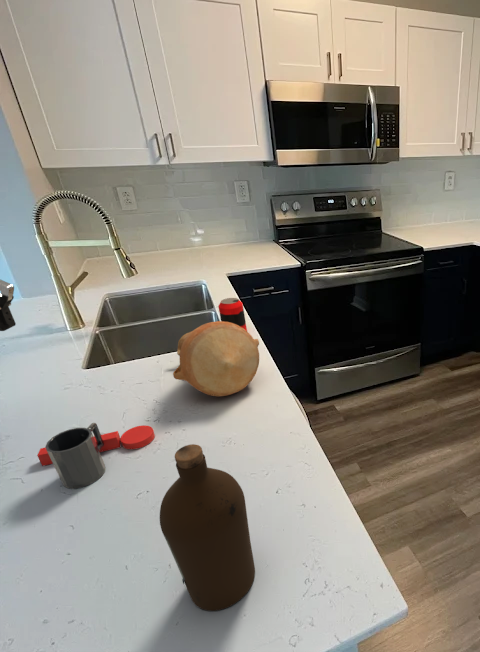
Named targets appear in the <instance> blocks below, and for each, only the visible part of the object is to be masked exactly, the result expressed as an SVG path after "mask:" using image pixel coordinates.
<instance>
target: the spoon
mask: <svg viewBox="0 0 480 652" xmlns="http://www.w3.org/2000/svg"><path fill="white" fill-rule="evenodd" d="M93 437H94V439H95V436H94V435H93ZM101 437H102V439H103V442H104V446H103V447H102V448H101V449H100V450H99V452H100V453H103V452H106V451H110V450H115V449H119V448H121V446H122V447H123V448H124V449H126V450H137V449H141V448H143V447H146V446H147V445H150V444H151V443H152V442H153V441H154V439H155V438H156V435H155V431H154V428H153V427H152V426H150V425H147V424H146V425H143V424H142V425H137V426H135V427H131V428H129V429H127V430H126V431H124V432H123V433H122V434H121V436H120V434H119V431H118V430H116V431H112V432H107V433H103V434H101ZM95 442H96V444H97V441H96V439H95ZM36 456H37V458H38V461H39V462H40V464H41V466H42V467H44V466H48V465H53V462H52V460H51V458H50V456H49V454H48V452H47V450H46V447H45V446H44V447H41V448H40V449H39V451H38V452H37V455H36Z"/></svg>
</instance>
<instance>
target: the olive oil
mask: <svg viewBox="0 0 480 652" xmlns="http://www.w3.org/2000/svg"><path fill="white" fill-rule="evenodd" d="M174 460H175V467H176V470H177V473H178V476H179V477H178V478H177V479H176V480H175V481H174V482H173V483H172V485H171V486H170V487H168V490H167V491H166V492H165V493H164V495H163V498H162V501H161V502H160V503H161V504H160V509H159V525H160V530H161V532H162V535H163V537H164V539H165V541H166V544H167V546H168V548H169V550H170V552H171V555H172V557H173V559H174V561H175V564H176V566H177V569H178V571H179V572H180V573H179V574H180V575H181V580H182V581H181V582H182V584H183V585H184V586H183V587H184V588H186V590H187V592H188V594H189V597H190V599H191V601H192V603H193V604H194V605H195V606H196V607H197V608H199V609H201V610H204V611H208V612H216V611H221V610H225V609H228V608H230V607H232V606H234V605H235V604H237V603H238V602H239V601H241V600H242V599H243V598H244V597H245V596H246V595H247V594H248V592H249V591H250V589H251V588H252V586H253V583H254V580H255V577H256V567H255V559H254V554H253V549H252V543H251V534H250V529H249V521H248V513H247V503H246V498H245V493H244V491H243V489H242V486H241V485H240V484H239V482H238V481H237V480H236V478H234V476H233V475H231V474H230V473H228V472H226V471H224V470H221V469H217V468H212V467H208V464H207V459H206V455H205V454H204V451H203V449H202V446H201V445H199V444H196V443H195V444H194V443H193V444H187V445H184V446H182V447H180V448H179V449H178V450H176V451H175V453H174Z"/></svg>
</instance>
